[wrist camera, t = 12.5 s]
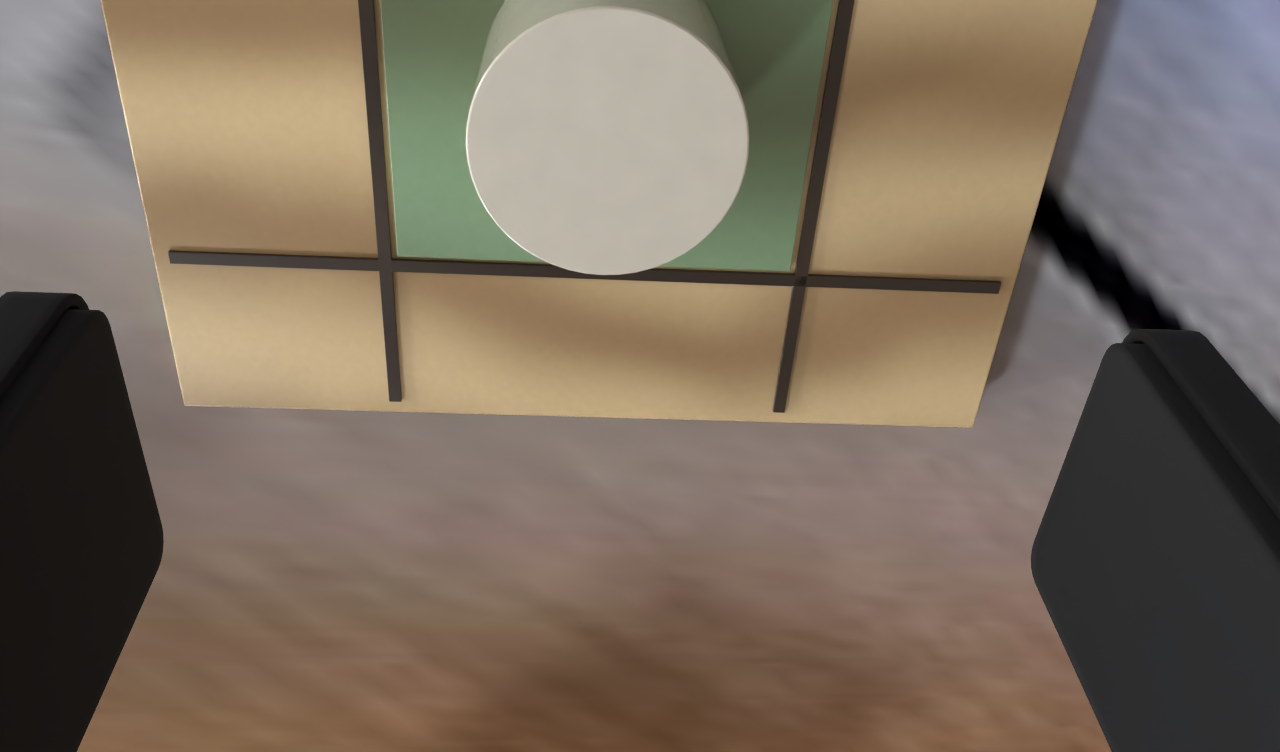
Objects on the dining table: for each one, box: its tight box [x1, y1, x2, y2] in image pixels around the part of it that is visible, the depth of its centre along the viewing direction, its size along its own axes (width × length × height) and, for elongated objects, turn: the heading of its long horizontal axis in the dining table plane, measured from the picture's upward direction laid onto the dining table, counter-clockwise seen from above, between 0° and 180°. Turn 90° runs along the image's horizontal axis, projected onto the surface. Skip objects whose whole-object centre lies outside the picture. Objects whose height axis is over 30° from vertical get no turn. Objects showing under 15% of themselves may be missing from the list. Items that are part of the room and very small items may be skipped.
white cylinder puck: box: [466, 0, 750, 275], centre depth 21 cm, size 5×5×4 cm
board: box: [101, 0, 1098, 427], centre depth 23 cm, size 18×20×1 cm
